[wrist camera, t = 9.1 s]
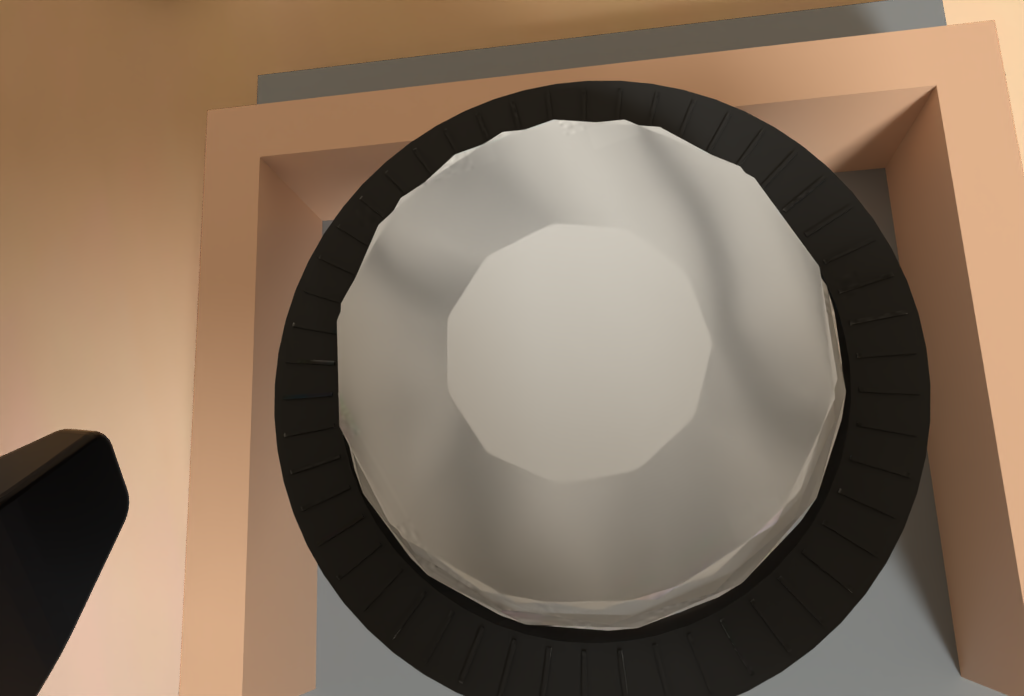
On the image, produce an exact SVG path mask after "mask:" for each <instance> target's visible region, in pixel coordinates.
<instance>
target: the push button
mask: <svg viewBox="0 0 1024 696" xmlns="http://www.w3.org/2000/svg"><path fill="white" fill-rule="evenodd" d="M274 419H275V430H276V441H277V451H278V456H279V461H280V466H281V471H282V476H283V481H284V485H285V488H286V491H287V495H288V498H289V501H290V504H291V508H292V511H293V514H294V516H295V519H296V521H297V523H298V526H299V528H300V530H301V533H302V535H303V537H304V540H305V542H306V544H307V546H308V548H309V550H310V552H311V553H312V555H313V557H314V559H315V561H316V562H317V564H318V566H319V568H320V569H321V571H322V573H323V575H324V576H325V578H326V579H327V580H328V582H329V583H330V585H331V586H332V587H333V589H334V590H335V592H336V593H337V594H338V596H339V597H340V599H341V600H342V601H343V603H344V604H345V605H346V606H347V607H348V608H349V610H350V611H351V612H352V613H353V614H354V615H355V616H356V617H357V619H358V620H359V621H360V622H361V623H362V624H363V625H364V626H365V627H366V629H367V630H368V631H370V632H371V633H372V634H373V635H374V636H375V637H376V638H377V639H378V640H380V641H381V642H382V643H383V644H384V645H385V646H386V647H387V648H389V649H390V650H391V651H392V652H393V653H394V654H396V655H397V656H398V657H400V658H401V659H403V660H404V661H405V662H407V663H408V664H410V665H411V666H412V667H414V668H415V669H417V670H418V671H419V672H421V673H422V674H424V675H425V676H427V677H429V678H431V679H433V680H434V681H436V682H438V683H440V684H442V685H443V686H445V687H447V688H449V689H451V690H452V691H454V692H456V693H459V694H461V695H463V696H738V695H740V694H742V693H745V692H747V691H749V690H751V689H753V688H755V687H756V686H758V685H760V684H762V683H763V682H765V681H767V680H769V679H770V678H772V677H774V676H776V675H777V674H779V673H781V672H783V671H784V670H785V669H787V668H788V667H789V666H791V665H792V664H793V663H795V662H796V661H798V660H799V659H800V658H802V657H803V656H804V655H806V654H807V653H809V652H810V651H811V650H813V649H814V648H815V647H816V646H817V645H818V644H819V643H820V642H821V641H822V640H823V639H825V638H826V637H827V636H828V635H829V634H830V633H831V632H832V631H833V630H834V629H835V628H836V627H837V626H839V625H840V624H841V623H842V621H843V620H844V619H845V618H846V617H847V616H848V614H849V613H850V612H851V611H852V610H853V609H854V607H855V606H856V605H857V604H858V603H859V601H860V600H861V599H862V598H863V597H864V596H865V594H866V593H867V592H868V590H869V589H870V587H871V586H872V584H873V583H874V581H875V580H876V578H877V577H878V575H879V574H880V572H881V571H882V569H883V568H884V566H885V565H886V563H887V561H888V559H889V557H890V555H891V553H892V551H893V550H894V548H895V546H896V544H897V542H898V540H899V538H900V536H901V534H902V532H903V530H904V528H905V525H906V522H907V519H908V517H909V514H910V511H911V509H912V506H913V503H914V501H915V498H916V495H917V492H918V488H919V484H920V479H921V475H922V471H923V467H924V463H925V459H926V452H927V444H928V436H929V427H930V375H929V366H928V357H927V348H926V344H925V339H924V335H923V331H922V326H921V322H920V317H919V313H918V310H917V307H916V305H915V302H914V299H913V296H912V293H911V290H910V287H909V284H908V282H907V279H906V277H905V275H904V273H903V271H902V269H901V267H900V265H899V262H898V260H897V258H896V256H895V254H894V252H893V250H892V248H891V246H890V245H889V243H888V242H887V240H886V238H885V237H884V235H883V233H882V232H881V230H880V229H879V227H878V225H877V224H876V222H875V221H874V219H873V218H872V216H871V215H870V214H869V213H868V211H867V210H866V209H865V208H864V206H863V205H862V204H861V202H860V201H859V200H858V199H857V197H856V196H855V195H854V193H853V192H852V191H851V190H850V189H849V188H848V187H847V186H846V185H845V184H844V183H843V182H842V181H841V180H840V179H839V178H838V177H837V176H836V175H835V174H834V173H833V172H832V171H831V169H830V168H829V167H827V166H826V165H825V164H824V163H823V162H821V161H820V160H819V159H818V158H817V157H815V156H814V155H813V154H812V153H811V152H809V151H808V150H807V149H806V148H805V147H803V146H802V145H801V144H799V143H798V142H796V141H795V140H793V139H792V138H790V137H789V136H787V135H786V134H784V133H783V132H781V131H780V130H778V129H777V128H775V127H773V126H772V125H770V124H768V123H766V122H764V121H762V120H760V119H758V118H757V117H755V116H753V115H751V114H749V113H747V112H745V111H743V110H740V109H738V108H735V107H733V106H731V105H728V104H726V103H723V102H721V101H718V100H716V99H713V98H710V97H706V96H703V95H699V94H696V93H693V92H689V91H686V90H682V89H677V88H672V87H666V86H661V85H656V84H650V83H639V82H629V81H580V82H570V83H560V84H552V85H547V86H542V87H537V88H532V89H527V90H523V91H519V92H516V93H513V94H509V95H506V96H503V97H499V98H496V99H493V100H490V101H488V102H486V103H483V104H481V105H478V106H476V107H473V108H471V109H468V110H466V111H464V112H462V113H460V114H458V115H456V116H454V117H452V118H450V119H448V120H446V121H444V122H442V123H440V124H439V125H437V126H435V127H433V128H432V129H430V130H429V131H427V132H426V133H424V134H423V135H421V136H420V137H418V138H417V139H415V140H413V141H412V142H410V143H409V144H408V145H406V146H405V147H404V148H403V149H401V150H400V151H399V152H398V153H396V154H395V155H394V156H393V157H391V158H390V159H389V160H388V161H386V162H385V163H384V164H383V165H382V166H381V167H380V168H379V169H378V170H377V171H376V172H375V173H374V174H373V175H372V176H370V177H369V178H368V179H367V180H366V181H365V182H364V183H363V184H362V185H361V186H360V188H359V189H358V190H357V191H356V192H355V193H354V195H353V196H352V197H351V198H350V199H349V200H348V202H347V203H346V204H345V205H344V206H343V207H342V209H341V210H340V212H339V213H338V214H337V216H336V217H335V219H334V220H333V222H332V223H331V224H330V226H329V227H328V229H327V230H326V232H325V233H324V234H323V236H322V238H321V240H320V242H319V243H318V245H317V247H316V249H315V250H314V252H313V254H312V256H311V257H310V259H309V261H308V263H307V265H306V268H305V270H304V272H303V274H302V277H301V279H300V281H299V283H298V286H297V288H296V290H295V293H294V296H293V299H292V302H291V305H290V308H289V311H288V314H287V318H286V321H285V325H284V329H283V334H282V339H281V343H280V348H279V352H278V361H277V369H276V378H275V403H274ZM686 609H687V610H686ZM684 610H685V611H684ZM681 611H683V612H681ZM678 612H680V613H678ZM676 613H677V614H676ZM673 614H674V615H673ZM670 615H671V616H670Z"/></svg>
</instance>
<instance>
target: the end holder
mask: <svg viewBox="0 0 1024 696" xmlns="http://www.w3.org/2000/svg"><path fill="white" fill-rule="evenodd" d="M580 81H629V82H639V83H650V84H656V85H661V86H666V87H672V88H677V89H682V90H686V91H689V92H693V93H696V94H699V95H703V96H706V97H710V98H713V99H716V100H718V101H721V102H723V103H726V104H728V105H731V106H733V107H735V108H738V109H740V110H743V111H745V112H747V113H749V114H751V115H753V116H755V117H757V118H758V119H760V120H762V121H764V122H766V123H768V124H770V125H772V126H773V127H775V128H777V129H778V130H780V131H781V132H783V133H784V134H786V135H787V136H789V137H790V138H792V139H793V140H795V141H796V142H798V143H799V144H801V145H802V146H803V147H805V148H806V149H807V150H808V151H809V152H811V153H812V154H813V155H814V156H815V157H817V158H818V159H819V160H820V161H821V162H823V163H824V164H825V165H826V166H827V167H829V168H830V169H831V171H832V172H833V173H834V174H835V175H836V176H837V177H838V178H839V179H840V180H841V181H842V182H843V183H844V184H845V185H846V186H847V187H848V188H849V189H850V190H851V191H852V192H853V193H854V195H855V196H856V197H857V199H858V200H859V201H860V202H861V204H862V205H863V206H864V208H865V209H866V210H867V211H868V213H869V214H870V215H871V216H872V218H873V219H874V221H875V222H876V224H877V225H878V227H879V229H880V230H881V232H882V233H883V235H884V237H885V238H886V240H887V242H888V243H889V245H890V246H891V248H892V250H893V252H894V254H895V256H896V258H897V260H898V262H899V265H900V267H901V269H902V271H903V273H904V275H905V277H906V279H907V282H908V284H909V287H910V290H911V293H912V296H913V299H914V302H915V305H916V307H917V310H918V313H919V317H920V322H921V326H922V331H923V335H924V339H925V344H926V348H927V357H928V366H929V375H930V427H929V436H928V444H927V452H926V459H925V463H924V467H923V471H922V475H921V479H920V484H919V488H918V492H917V495H916V498H915V501H914V503H913V506H912V509H911V511H910V514H909V517H908V519H907V522H906V525H905V528H904V530H903V532H902V534H901V536H900V538H899V540H898V542H897V544H896V546H895V548H894V550H893V551H892V553H891V555H890V557H889V559H888V561H887V563H886V565H885V566H884V568H883V569H882V571H881V572H880V574H879V575H878V577H877V578H876V580H875V581H874V583H873V584H872V586H871V587H870V589H869V590H868V592H867V593H866V594H865V596H864V597H863V598H862V599H861V600H860V601H859V603H858V604H857V605H856V606H855V607H854V609H853V610H852V611H851V612H850V613H849V614H848V616H847V617H846V618H845V619H844V620H843V621H842V623H841V624H840V625H839V626H837V627H836V628H835V629H834V630H833V631H832V632H831V633H830V634H829V635H828V636H827V637H826V638H825V639H823V640H822V641H821V642H820V643H819V644H818V645H817V646H816V647H815V648H814V649H813V650H811V651H810V652H809V653H807V654H806V655H804V656H803V657H802V658H800V659H799V660H798V661H796V662H795V663H793V664H792V665H791V666H789V667H788V668H787V669H785V670H784V671H783V672H781V673H779V674H777V675H776V676H774V677H772V678H770V679H769V680H767V681H765V682H763V683H762V684H760V685H758V686H756V687H755V688H753V689H751V690H749V691H747V692H745V693H742V694H740V695H738V696H1024V172H1023V167H1022V162H1021V157H1020V151H1019V146H1018V141H1017V135H1016V130H1015V125H1014V120H1013V114H1012V109H1011V104H1010V98H1009V93H1008V88H1007V82H1006V77H1005V72H1004V67H1003V61H1002V56H1001V51H1000V45H999V40H998V35H997V29H996V24H995V20H990V21H982V22H973V23H964V24H955V25H947V24H946V19H945V13H944V7H943V2H942V0H887V1H878V2H870V3H861V4H853V5H845V6H836V7H828V8H820V9H811V10H803V11H794V12H786V13H778V14H769V15H761V16H752V17H744V18H736V19H727V20H719V21H710V22H702V23H694V24H685V25H677V26H669V27H660V28H652V29H643V30H635V31H627V32H618V33H610V34H601V35H593V36H585V37H576V38H568V39H560V40H551V41H543V42H534V43H526V44H518V45H509V46H501V47H492V48H484V49H476V50H467V51H459V52H450V53H442V54H434V55H425V56H417V57H409V58H400V59H392V60H383V61H375V62H367V63H358V64H350V65H341V66H333V67H325V68H316V69H308V70H299V71H291V72H283V73H274V74H266V75H258V91H257V105H248V106H239V107H230V108H222V109H213V110H207V129H206V149H205V170H204V190H203V211H202V231H201V252H200V272H199V293H198V313H197V334H196V354H195V375H194V395H193V416H192V436H191V457H190V477H189V498H188V519H187V539H186V560H185V580H184V601H183V621H182V642H181V662H180V683H179V696H463V695H461V694H459V693H456V692H454V691H452V690H451V689H449V688H447V687H445V686H443V685H442V684H440V683H438V682H436V681H434V680H433V679H431V678H429V677H427V676H425V675H424V674H422V673H421V672H419V671H418V670H417V669H415V668H414V667H412V666H411V665H410V664H408V663H407V662H405V661H404V660H403V659H401V658H400V657H398V656H397V655H396V654H394V653H393V652H392V651H391V650H390V649H389V648H387V647H386V646H385V645H384V644H383V643H382V642H381V641H380V640H378V639H377V638H376V637H375V636H374V635H373V634H372V633H371V632H370V631H368V630H367V629H366V627H365V626H364V625H363V624H362V623H361V622H360V621H359V620H358V619H357V617H356V616H355V615H354V614H353V613H352V612H351V611H350V610H349V608H348V607H347V606H346V605H345V604H344V603H343V601H342V600H341V599H340V597H339V596H338V594H337V593H336V592H335V590H334V589H333V587H332V586H331V585H330V583H329V582H328V580H327V579H326V578H325V576H324V575H323V573H322V571H321V569H320V568H319V566H318V564H317V562H316V561H315V559H314V557H313V555H312V553H311V552H310V550H309V548H308V546H307V544H306V542H305V540H304V537H303V535H302V533H301V530H300V528H299V526H298V523H297V521H296V519H295V516H294V514H293V511H292V508H291V504H290V501H289V498H288V495H287V491H286V488H285V485H284V481H283V476H282V471H281V466H280V461H279V456H278V451H277V441H276V430H275V419H274V403H275V378H276V369H277V361H278V352H279V348H280V343H281V339H282V334H283V329H284V325H285V321H286V318H287V314H288V311H289V308H290V305H291V302H292V299H293V296H294V293H295V290H296V288H297V286H298V283H299V281H300V279H301V277H302V274H303V272H304V270H305V268H306V265H307V263H308V261H309V259H310V257H311V256H312V254H313V252H314V250H315V249H316V247H317V245H318V243H319V242H320V240H321V238H322V236H323V234H324V233H325V232H326V230H327V229H328V227H329V226H330V224H331V223H332V222H333V220H334V219H335V217H336V216H337V214H338V213H339V212H340V210H341V209H342V207H343V206H344V205H345V204H346V203H347V202H348V200H349V199H350V198H351V197H352V196H353V195H354V193H355V192H356V191H357V190H358V189H359V188H360V186H361V185H362V184H363V183H364V182H365V181H366V180H367V179H368V178H369V177H370V176H372V175H373V174H374V173H375V172H376V171H377V170H378V169H379V168H380V167H381V166H382V165H383V164H384V163H385V162H386V161H388V160H389V159H390V158H391V157H393V156H394V155H395V154H396V153H398V152H399V151H400V150H401V149H403V148H404V147H405V146H406V145H408V144H409V143H410V142H412V141H413V140H415V139H417V138H418V137H420V136H421V135H423V134H424V133H426V132H427V131H429V130H430V129H432V128H433V127H435V126H437V125H439V124H440V123H442V122H444V121H446V120H448V119H450V118H452V117H454V116H456V115H458V114H460V113H462V112H464V111H466V110H468V109H471V108H473V107H476V106H478V105H481V104H483V103H486V102H488V101H490V100H493V99H496V98H499V97H503V96H506V95H509V94H513V93H516V92H519V91H523V90H527V89H532V88H537V87H542V86H547V85H552V84H560V83H570V82H580ZM686 610H687V609H686ZM684 611H685V610H684ZM681 612H683V611H681ZM678 613H680V612H678ZM676 614H677V613H676ZM673 615H674V614H673ZM670 616H671V615H670Z"/></svg>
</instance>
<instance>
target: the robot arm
mask: <svg viewBox="0 0 1024 696" xmlns="http://www.w3.org/2000/svg"><path fill="white" fill-rule="evenodd" d="M128 509H129V494H128V490H127V488H126V485H125V482H124V479H123V476H122V473H121V470H120V467H119V464H118V461H117V458H116V455H115V453H114V450H113V447H112V444H111V442H110V440H109V439H108V438H107V437H106V436H105V435H104V434H102V433H100V432H97V431H88V430H77V429H63V430H59V431H56V432H54V433H52V434H49V435H47V436H45V437H43V438H41V439H39V440H36V441H34V442H32V443H30V444H28V445H25V446H23V447H21V448H19V449H17V450H14V451H12V452H10V453H8V454H6V455H3V456H1V457H0V696H37V695H38V693H39V691H40V690H41V688H42V686H43V685H44V683H45V681H46V680H47V678H48V676H49V675H50V673H51V671H52V669H53V668H54V666H55V664H56V662H57V661H58V659H59V657H60V655H61V654H62V652H63V650H64V648H65V646H66V644H67V642H68V640H69V638H70V636H71V634H72V632H73V630H74V628H75V626H76V624H77V622H78V619H79V617H80V615H81V613H82V611H83V609H84V607H85V605H86V602H87V600H88V598H89V596H90V594H91V592H92V590H93V588H94V586H95V583H96V581H97V579H98V577H99V575H100V573H101V571H102V569H103V567H104V564H105V562H106V560H107V558H108V556H109V554H110V552H111V550H112V547H113V545H114V543H115V541H116V539H117V537H118V535H119V533H120V531H121V528H122V526H123V524H124V522H125V520H126V517H127V513H128Z"/></svg>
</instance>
